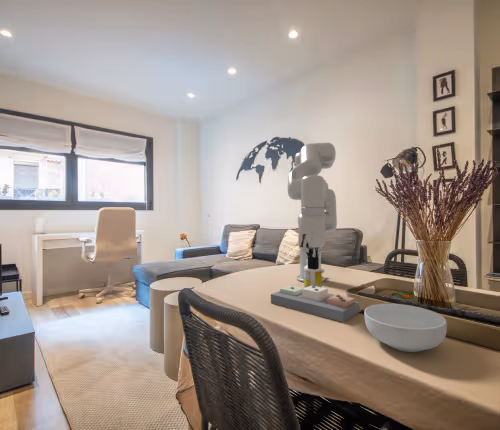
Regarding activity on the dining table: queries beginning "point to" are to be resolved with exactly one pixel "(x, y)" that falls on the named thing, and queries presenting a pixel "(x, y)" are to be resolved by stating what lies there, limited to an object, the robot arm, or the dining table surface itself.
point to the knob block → (291, 290)
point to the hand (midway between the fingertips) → (313, 268)
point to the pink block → (340, 301)
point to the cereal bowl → (405, 326)
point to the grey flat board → (316, 306)
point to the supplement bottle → (312, 277)
